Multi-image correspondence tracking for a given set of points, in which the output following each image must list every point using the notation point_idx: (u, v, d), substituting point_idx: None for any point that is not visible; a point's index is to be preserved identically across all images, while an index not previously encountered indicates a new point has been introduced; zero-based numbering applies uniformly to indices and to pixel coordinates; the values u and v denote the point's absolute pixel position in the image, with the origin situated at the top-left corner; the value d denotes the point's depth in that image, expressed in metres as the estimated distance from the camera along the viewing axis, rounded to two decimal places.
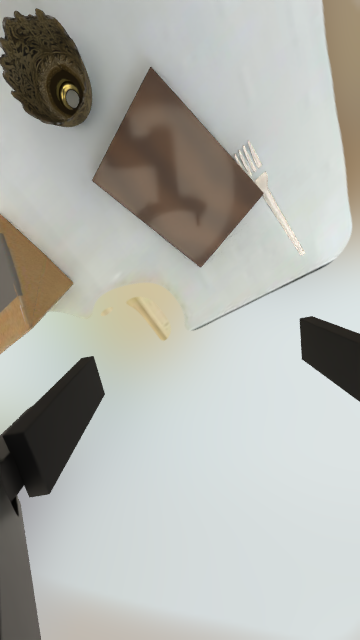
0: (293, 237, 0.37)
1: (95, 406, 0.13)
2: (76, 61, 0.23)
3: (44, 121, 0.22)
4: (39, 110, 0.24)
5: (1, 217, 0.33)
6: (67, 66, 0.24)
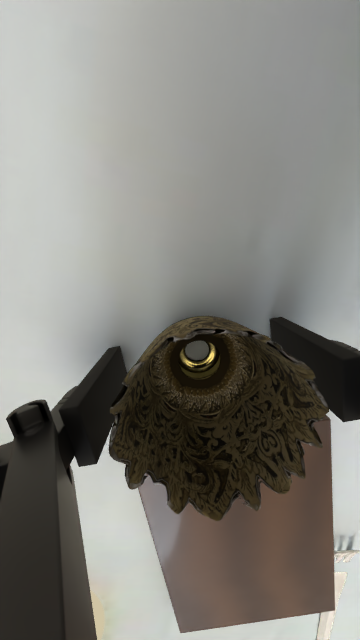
0: None
1: None
2: (257, 366, 0.12)
3: (132, 482, 0.08)
4: (139, 387, 0.10)
5: None
6: (233, 344, 0.13)
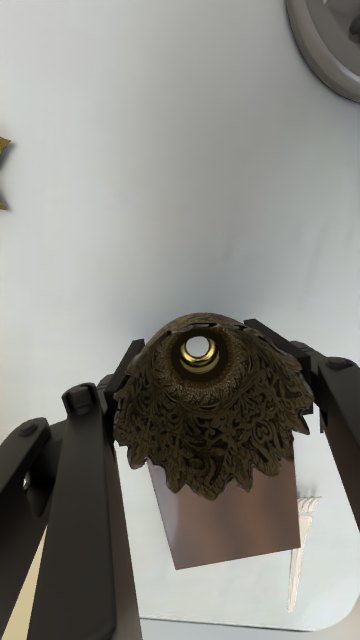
0: (294, 592, 0.27)
1: None
2: (253, 361, 0.12)
3: (133, 463, 0.09)
4: (141, 379, 0.11)
5: None
6: (231, 340, 0.13)
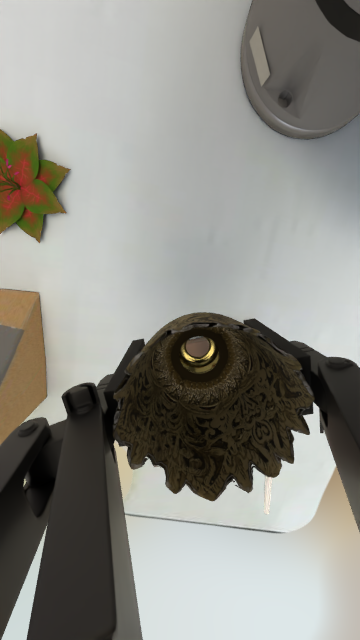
0: (268, 496, 0.36)
1: None
2: (253, 361, 0.12)
3: (133, 463, 0.09)
4: (141, 379, 0.11)
5: (37, 307, 0.28)
6: (231, 340, 0.13)
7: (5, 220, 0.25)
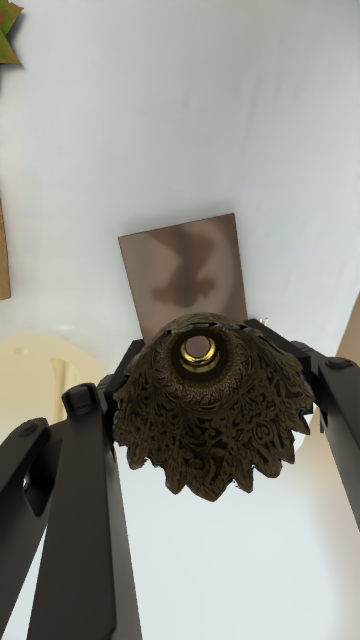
0: None
1: None
2: (253, 361, 0.12)
3: (133, 463, 0.09)
4: (141, 379, 0.11)
5: None
6: (231, 340, 0.13)
7: None
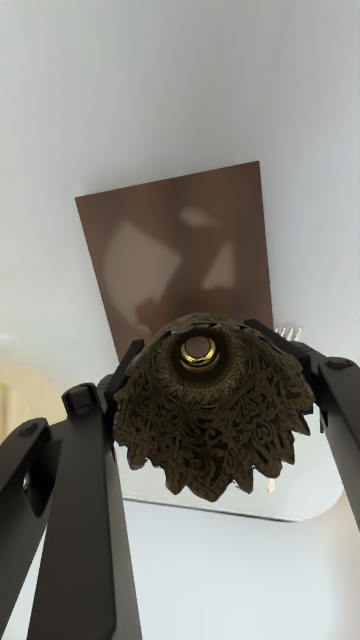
0: None
1: None
2: (253, 361, 0.12)
3: (133, 464, 0.09)
4: (141, 379, 0.11)
5: None
6: (231, 340, 0.13)
7: None
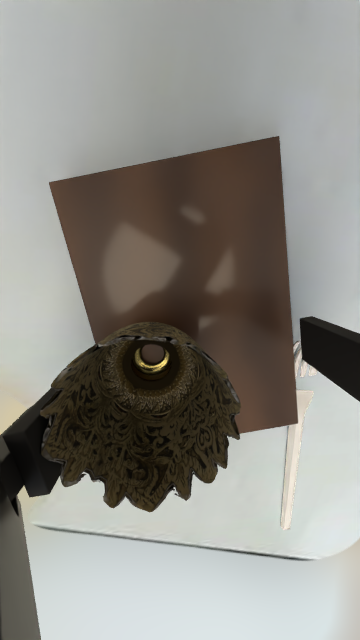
0: (290, 499, 0.21)
1: None
2: (200, 368, 0.13)
3: (67, 480, 0.09)
4: (84, 391, 0.11)
5: None
6: (181, 347, 0.14)
7: None
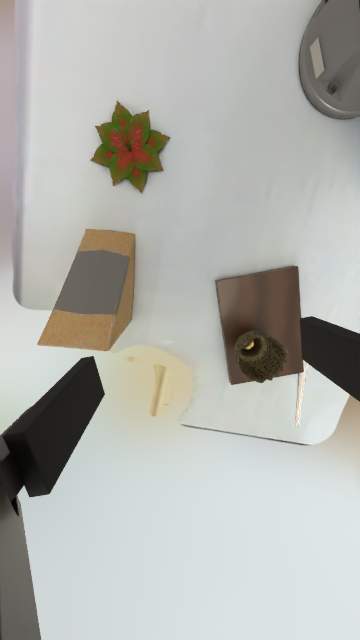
0: (299, 409, 0.45)
1: (95, 406, 0.13)
2: (270, 346, 0.37)
3: (241, 372, 0.33)
4: None
5: (134, 245, 0.37)
6: (261, 339, 0.38)
7: (119, 175, 0.34)
